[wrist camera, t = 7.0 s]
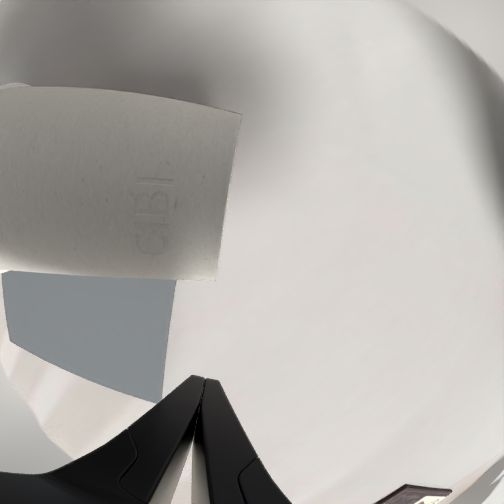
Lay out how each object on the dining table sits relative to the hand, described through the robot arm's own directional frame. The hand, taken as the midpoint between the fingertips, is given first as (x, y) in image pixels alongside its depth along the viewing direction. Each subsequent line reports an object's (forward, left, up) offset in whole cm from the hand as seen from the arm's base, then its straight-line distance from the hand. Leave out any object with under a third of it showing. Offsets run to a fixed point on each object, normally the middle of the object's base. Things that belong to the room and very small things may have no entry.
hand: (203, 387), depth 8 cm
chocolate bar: (-31, +28, -8) cm, 42 cm away
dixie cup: (0, -6, -3) cm, 6 cm away
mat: (+9, 0, -7) cm, 11 cm away
